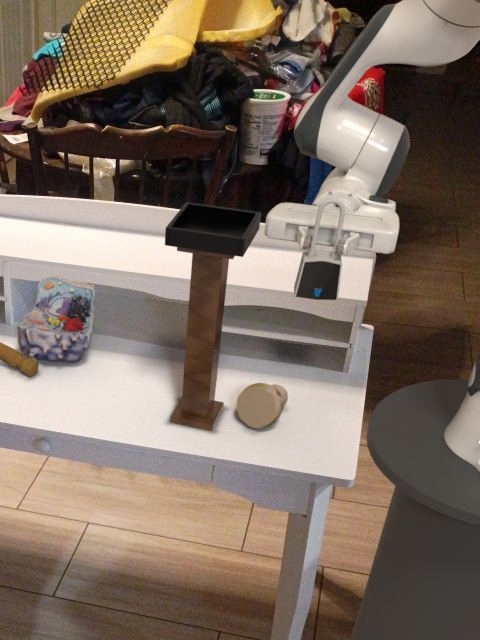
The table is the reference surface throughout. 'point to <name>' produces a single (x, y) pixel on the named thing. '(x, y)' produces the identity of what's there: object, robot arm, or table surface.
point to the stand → (203, 340)
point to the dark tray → (213, 229)
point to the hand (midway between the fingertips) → (323, 247)
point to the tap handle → (18, 360)
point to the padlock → (320, 264)
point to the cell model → (58, 321)
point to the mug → (261, 404)
